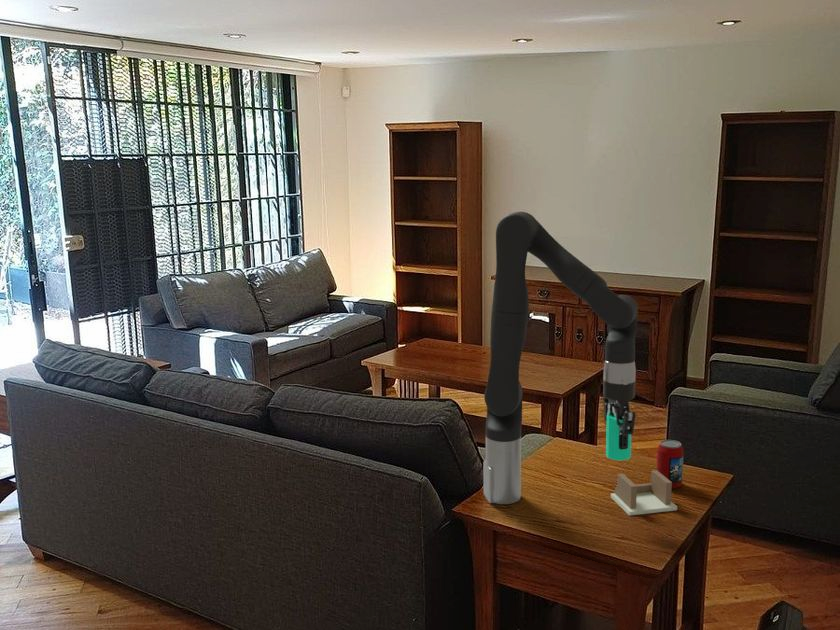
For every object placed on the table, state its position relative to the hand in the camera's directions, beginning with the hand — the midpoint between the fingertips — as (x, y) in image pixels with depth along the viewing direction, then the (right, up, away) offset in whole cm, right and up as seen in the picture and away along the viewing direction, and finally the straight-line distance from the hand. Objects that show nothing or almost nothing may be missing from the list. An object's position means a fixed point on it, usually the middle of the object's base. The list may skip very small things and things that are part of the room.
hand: (617, 444), depth 196 cm
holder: (+9, -17, +10) cm, 22 cm away
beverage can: (+19, -15, +21) cm, 32 cm away
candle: (0, -3, 0) cm, 3 cm away
